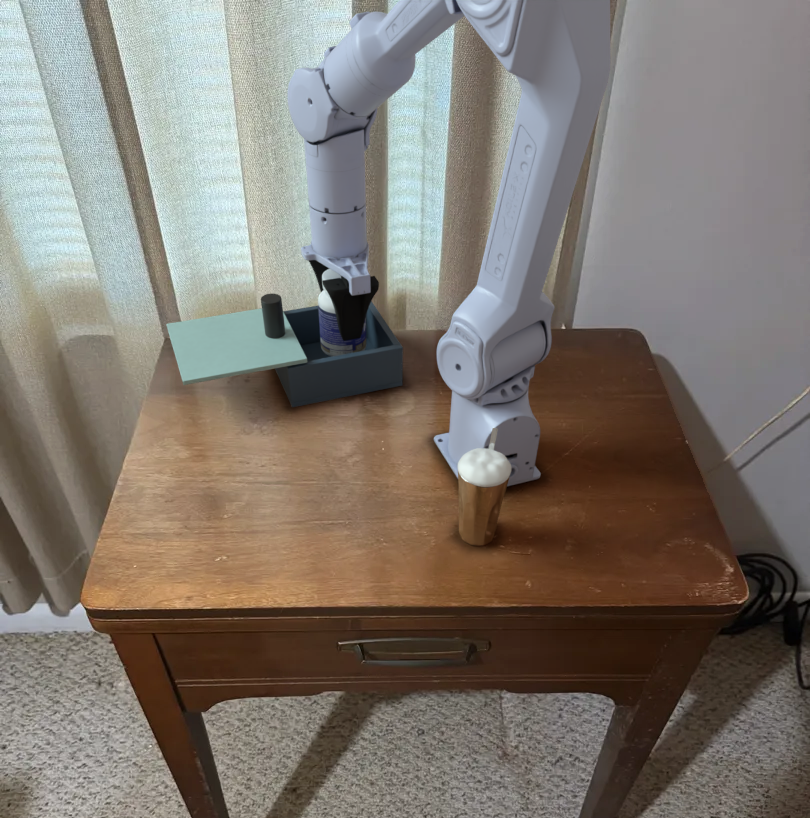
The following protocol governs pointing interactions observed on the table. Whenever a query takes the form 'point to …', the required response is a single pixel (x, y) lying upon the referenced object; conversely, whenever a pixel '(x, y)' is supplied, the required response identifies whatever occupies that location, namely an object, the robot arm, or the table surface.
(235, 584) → the table surface
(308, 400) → the case
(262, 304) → the sliding lid
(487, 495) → the milkshake
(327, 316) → the pill bottle
